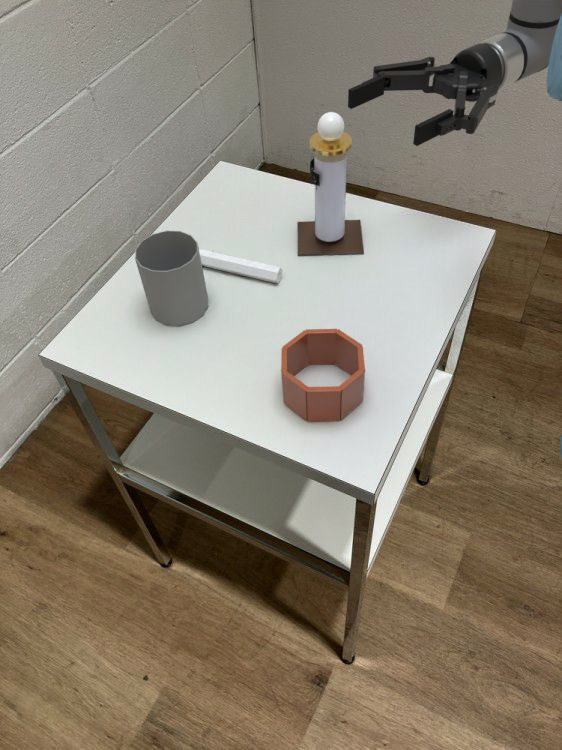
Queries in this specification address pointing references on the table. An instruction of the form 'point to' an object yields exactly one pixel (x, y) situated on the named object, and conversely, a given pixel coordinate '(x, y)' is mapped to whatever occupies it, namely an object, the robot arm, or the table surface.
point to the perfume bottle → (330, 176)
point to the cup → (172, 277)
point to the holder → (322, 350)
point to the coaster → (343, 246)
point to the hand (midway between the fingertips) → (381, 117)
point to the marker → (240, 266)
